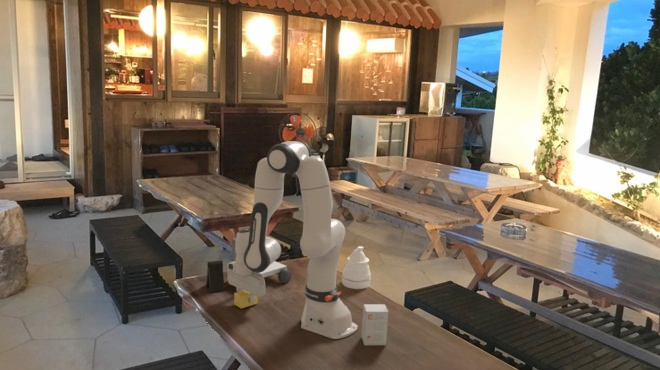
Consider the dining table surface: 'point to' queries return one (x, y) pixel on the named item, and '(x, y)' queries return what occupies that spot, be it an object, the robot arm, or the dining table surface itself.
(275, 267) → the flatbed trolley
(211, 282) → the phone stand
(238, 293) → the tall gold block
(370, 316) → the small box
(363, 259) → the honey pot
